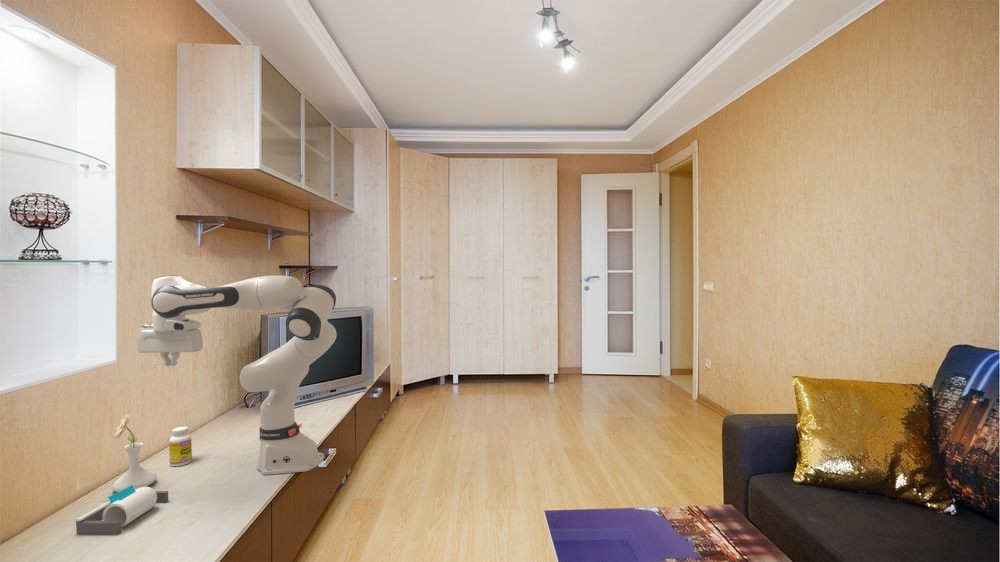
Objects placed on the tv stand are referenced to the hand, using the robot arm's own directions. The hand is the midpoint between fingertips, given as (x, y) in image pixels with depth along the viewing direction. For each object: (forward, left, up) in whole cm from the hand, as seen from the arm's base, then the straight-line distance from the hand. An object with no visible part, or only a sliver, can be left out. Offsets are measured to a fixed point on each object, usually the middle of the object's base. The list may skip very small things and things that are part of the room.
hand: (170, 365), depth 148 cm
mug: (-3, +21, -40) cm, 45 cm away
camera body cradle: (-2, +21, -39) cm, 44 cm away
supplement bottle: (+9, -14, -39) cm, 43 cm away
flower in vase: (+10, +5, -39) cm, 41 cm away
